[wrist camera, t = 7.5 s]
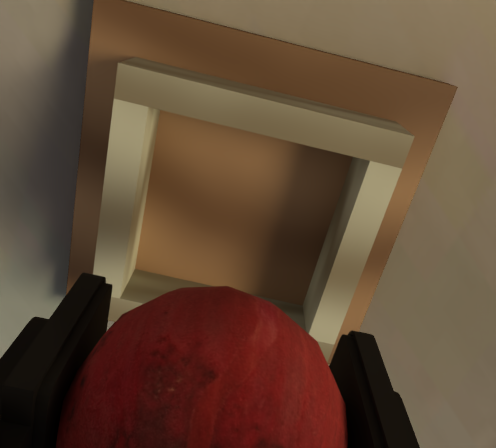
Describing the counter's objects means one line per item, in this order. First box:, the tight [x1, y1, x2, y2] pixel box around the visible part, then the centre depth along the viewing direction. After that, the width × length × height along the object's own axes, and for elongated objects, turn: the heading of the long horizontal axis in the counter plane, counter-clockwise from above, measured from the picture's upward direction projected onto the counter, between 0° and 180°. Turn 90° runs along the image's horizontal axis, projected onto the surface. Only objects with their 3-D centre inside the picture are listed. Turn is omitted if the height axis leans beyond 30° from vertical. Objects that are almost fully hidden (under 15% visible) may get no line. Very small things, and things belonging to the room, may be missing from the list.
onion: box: [56, 286, 348, 448], centre depth 10 cm, size 6×6×8 cm
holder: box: [66, 0, 458, 364], centre depth 20 cm, size 14×14×4 cm
